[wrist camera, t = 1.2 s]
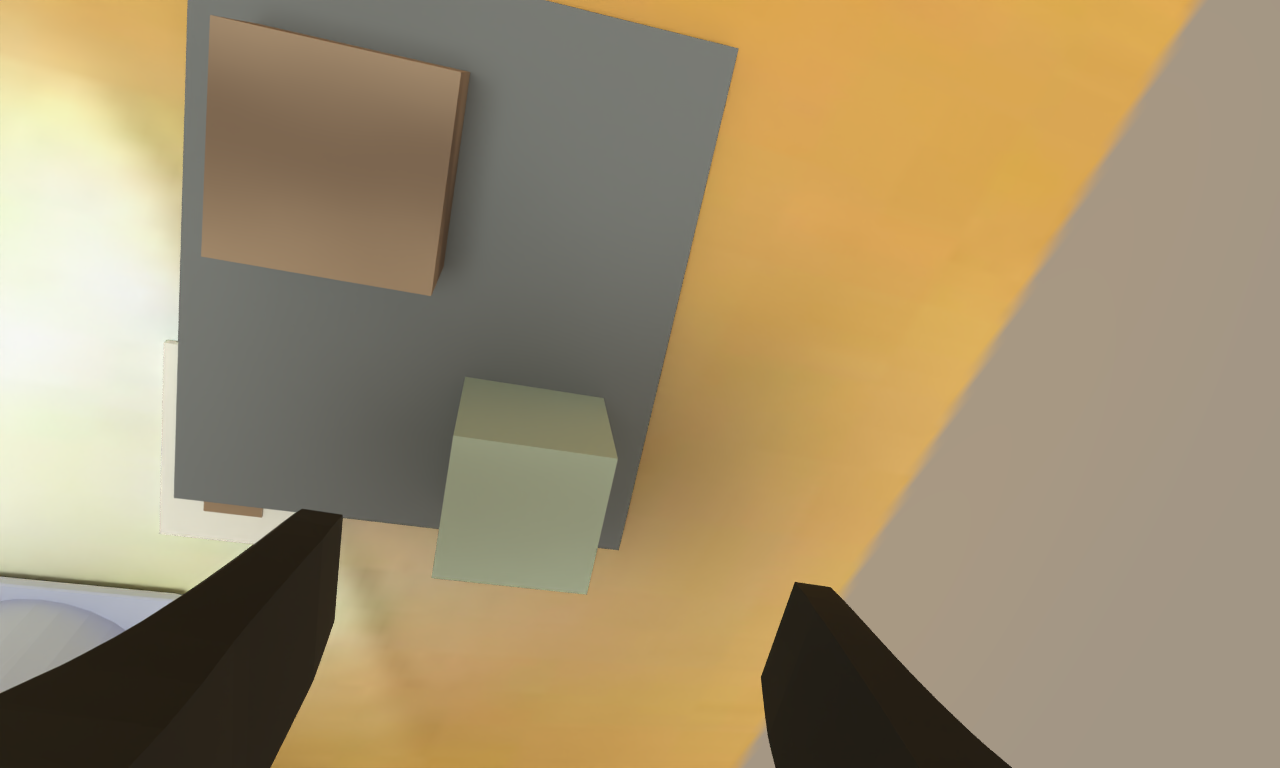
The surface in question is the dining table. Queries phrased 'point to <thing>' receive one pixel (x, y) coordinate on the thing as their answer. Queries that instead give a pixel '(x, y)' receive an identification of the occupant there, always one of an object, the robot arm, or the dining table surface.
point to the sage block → (525, 488)
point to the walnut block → (329, 157)
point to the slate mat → (456, 262)
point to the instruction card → (201, 515)
